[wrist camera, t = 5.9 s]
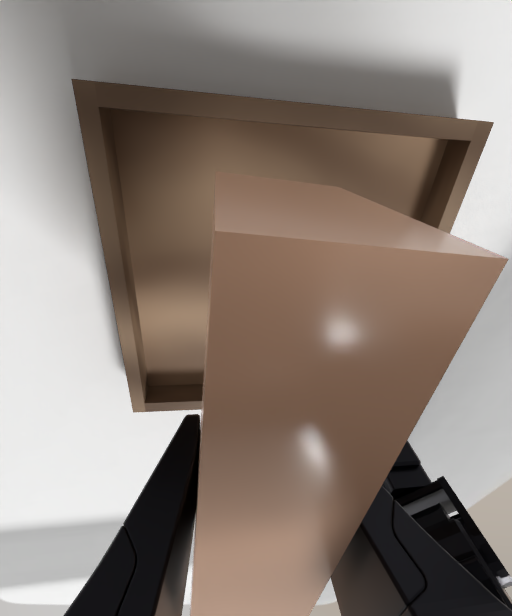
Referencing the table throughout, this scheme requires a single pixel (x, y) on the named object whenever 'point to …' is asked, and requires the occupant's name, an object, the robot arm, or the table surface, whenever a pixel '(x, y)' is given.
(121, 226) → the tray
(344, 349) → the light brown rectangular block
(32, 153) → the table surface
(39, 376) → the table surface
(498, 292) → the table surface
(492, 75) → the table surface
